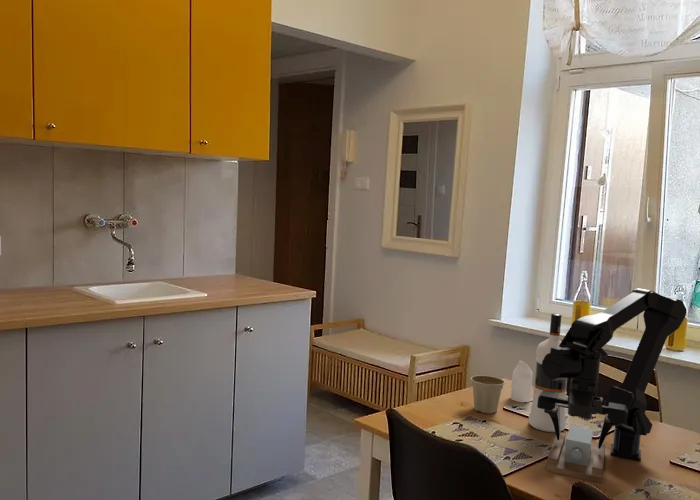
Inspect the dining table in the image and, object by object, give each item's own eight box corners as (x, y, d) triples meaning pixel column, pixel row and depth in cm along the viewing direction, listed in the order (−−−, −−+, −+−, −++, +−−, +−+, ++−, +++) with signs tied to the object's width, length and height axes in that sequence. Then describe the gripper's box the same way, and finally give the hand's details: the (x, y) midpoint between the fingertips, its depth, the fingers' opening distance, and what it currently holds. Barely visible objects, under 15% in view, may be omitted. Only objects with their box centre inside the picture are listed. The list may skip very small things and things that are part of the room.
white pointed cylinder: (537, 360, 182) (529, 364, 178) (533, 400, 183) (525, 404, 179) (518, 356, 186) (510, 359, 182) (514, 395, 187) (506, 399, 183)
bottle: (568, 446, 145) (570, 425, 145) (590, 450, 143) (592, 429, 143) (562, 465, 133) (564, 443, 133) (587, 471, 131) (589, 448, 131)
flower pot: (461, 406, 174) (463, 376, 173) (488, 403, 178) (490, 374, 177) (481, 417, 165) (484, 385, 165) (509, 414, 169) (512, 383, 169)
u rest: (555, 443, 149) (556, 431, 149) (604, 453, 145) (605, 441, 145) (546, 470, 133) (547, 457, 133) (601, 483, 128) (602, 469, 128)
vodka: (543, 418, 167) (553, 310, 165) (572, 430, 160) (583, 316, 157) (520, 423, 162) (530, 311, 160) (549, 435, 154) (560, 318, 152)
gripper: (536, 377, 134) (530, 446, 135) (630, 392, 126) (623, 466, 127) (543, 366, 144) (537, 431, 145) (630, 380, 136) (623, 448, 138)
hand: (578, 443), depth 139 cm, fingers open, 8 cm apart
